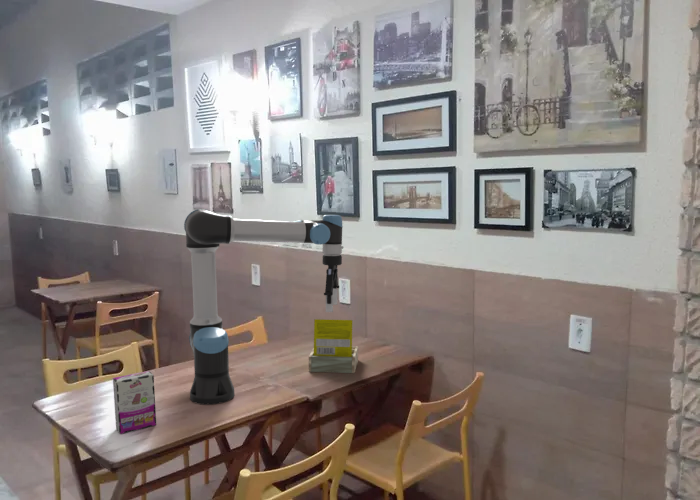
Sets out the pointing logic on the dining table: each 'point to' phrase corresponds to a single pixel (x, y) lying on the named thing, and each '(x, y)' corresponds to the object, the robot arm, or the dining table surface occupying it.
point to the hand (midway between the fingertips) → (331, 308)
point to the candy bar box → (134, 402)
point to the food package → (333, 338)
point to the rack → (334, 363)
